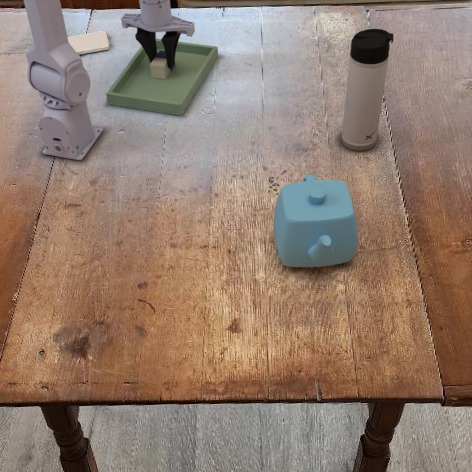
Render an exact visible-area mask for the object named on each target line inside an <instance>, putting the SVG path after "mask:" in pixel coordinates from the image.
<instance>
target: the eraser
mask: <svg viewBox="0 0 472 472" xmlns="http://www.w3.org/2000/svg"><path fill="white" fill-rule="evenodd" d="M175 64H176V60H175ZM175 64H174V65H173V67H172V68H168V66H167V60H166V53H165V50H163V49H161V50H160V51H159V52H158V54H157V55H156V56H155V58H154V60H153V61H152V62H151V64H150V69H151V75H152V77H153V78H160V79H166V78H167V76H168V75H169V73H170V72H171V71H172V69H173V68H174V66H175Z"/></svg>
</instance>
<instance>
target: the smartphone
mask: <svg viewBox="0 0 472 472" xmlns="http://www.w3.org/2000/svg"><path fill="white" fill-rule="evenodd" d="M67 37H68V42H69V44H70V45H71V46H72V47H73V49H74V50H75V51H76V52H77V53H78V55H79V56H80V55H85V54H90V53H96V52H101V51H106V50H109V49H110V42H109V38H108V34H107V32H106V30H98V31H92V32H86V33H82V34H76V35H70V36H69V35H68V36H67Z"/></svg>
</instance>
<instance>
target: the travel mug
mask: <svg viewBox="0 0 472 472" xmlns="http://www.w3.org/2000/svg"><path fill="white" fill-rule="evenodd" d="M390 43H391V44H393V43H394V33H393V32H389V31H387V30H385V29H382V28H368V29H363V30H361V31H358V32H357V33H355V34H354V35H353V37H352V38H351V42H350V51H349V57H348V58H349V60H348V70H347V79H346V89H345V99H344V109H343V120H342V129H341V130H342V131H341V143H342V145H343V146H344V147H345V148H347V149H349V150H352V151H357V152H362V151H363V152H364V151H368V150H370V149H372V148H374V146H376V143H377V139H378V132H379V126H380V119H381V111H382V104H383V98H384V92H385V86H386V85H385V83H386V77H387V70H388V65H389V58H390V46H391V45H390Z"/></svg>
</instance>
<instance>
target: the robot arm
mask: <svg viewBox="0 0 472 472" xmlns="http://www.w3.org/2000/svg"><path fill="white" fill-rule="evenodd" d="M23 3H24V4H23V5H24V9H25V12H26V15H27V19H28V24H29V27H30V28H29V29H30V31H31V36H32V40H33V44H34V45H32V47H31V48H29V49H28V51H27V52H26V59H27V71H26V72H27V73H26V74H27V75H26V77H27V81H28V83H29V85H30V87H31V88H32V89H33V90H36V91H38V94H39V97H40V98H41V99H42V102H43V112H42V115H41V117H40V118H39V121H38V128H39V132H40V135H41V138H42V141H43V144H44V149H43V150H42V154H43V155H46V156H47V155H48V156H53V157H59V158H64V159H70V160H76V161H82V160H83V159H84V158H85V157H86V155H87V154H88V152H89V151H90V150H91V148H92V147H93V146H94V144H95V143H96V142H97V140H98V138H99V137H100V136H101V134H102V133H103V131H104V130H103V128H102V127H96V126H93V124H92V121H91V116H90V112H89V108H88V104H87V100H86V99H88V96H89V93H90V90H91V77H90V75H89V72H88V71H87V70H86V68H85V66H84V64H83V59H82V57H81V55H80V54H79V55H78V53H77V52H76V51H75V50H74V49H73V47H72V46H71V45H70V44H69V42H68V37H69V36H68V33H67V28H66V23H65V18H64V13H63V8H62V4H61V1H60V0H23ZM138 3H139V8H140V13H124V14H123V15H122V16H121V17H120V21H121V27H122V29H128V28H134V29H136V33H135V35H134V37H135V40H136V41H137V42H138V43H139V45H140V47H141V46H142V47H143V49H144V50H145V52H146V54H147V56H148V58H149V61H150V63H151V62H152V61H153V60H154V58H155V56H156V55H157V54H158V53H157V47H156V39H157V33H164V32H165V33H164V35H162V37H161V38H160V39H161V41H162V43H163V46H164V49H165V53H166V60H167V66H168V68H172V67H173V65H174V64H175V54H176V48H177V44H178V42H180V38H181V35H186V37H191V38H192V37H193V35H194V34H195V32H196V29H195V28H196V27H195V22H194V21H190V20H186V19H183V18H180V17H177V16H174V15H172V9H171V0H138Z"/></svg>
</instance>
